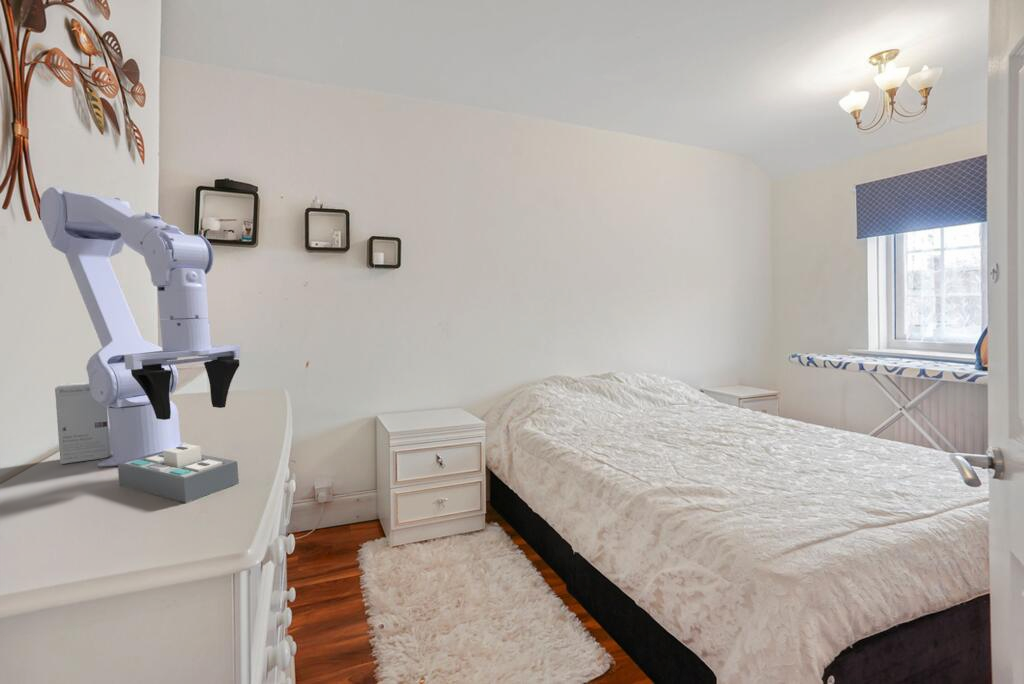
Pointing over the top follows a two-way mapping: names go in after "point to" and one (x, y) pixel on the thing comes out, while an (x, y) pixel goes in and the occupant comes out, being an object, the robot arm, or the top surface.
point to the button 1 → (156, 458)
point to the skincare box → (81, 424)
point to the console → (177, 478)
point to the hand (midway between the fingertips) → (192, 412)
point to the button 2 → (203, 465)
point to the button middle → (182, 455)
